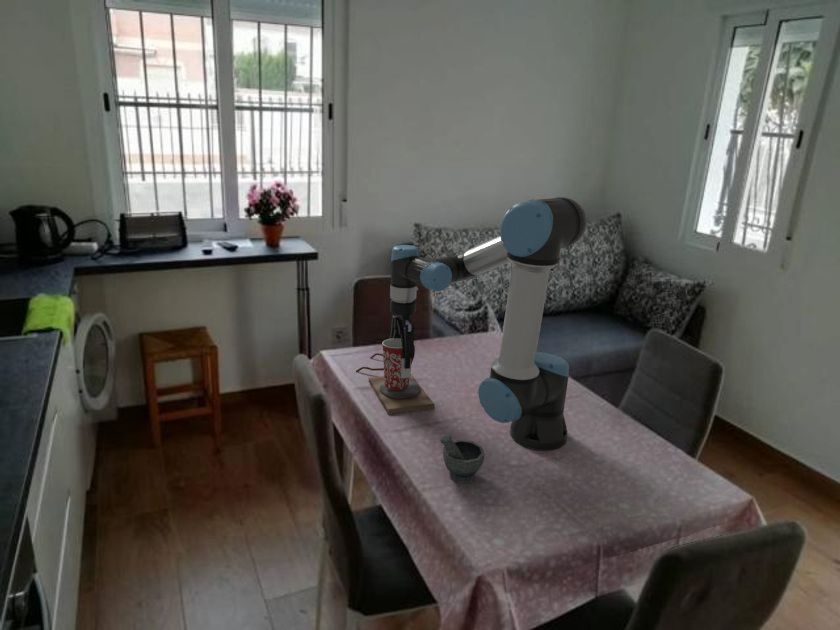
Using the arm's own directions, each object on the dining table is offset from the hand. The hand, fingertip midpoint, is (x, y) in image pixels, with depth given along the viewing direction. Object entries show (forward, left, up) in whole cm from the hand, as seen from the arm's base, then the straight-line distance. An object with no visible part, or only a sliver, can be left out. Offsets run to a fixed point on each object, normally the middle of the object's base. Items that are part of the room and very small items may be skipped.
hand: (400, 370), depth 181 cm
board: (0, 0, -8) cm, 8 cm away
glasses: (+21, 0, -9) cm, 23 cm away
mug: (0, 0, -4) cm, 4 cm away
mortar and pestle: (-45, -1, -8) cm, 46 cm away
